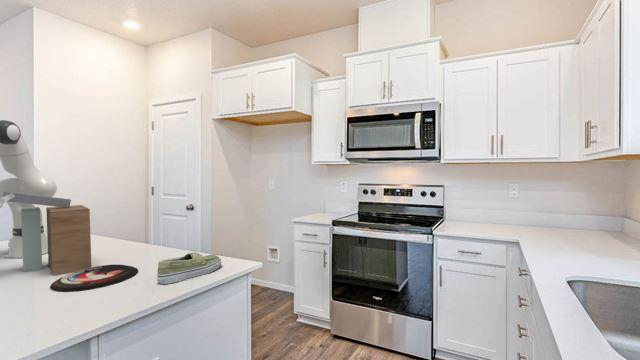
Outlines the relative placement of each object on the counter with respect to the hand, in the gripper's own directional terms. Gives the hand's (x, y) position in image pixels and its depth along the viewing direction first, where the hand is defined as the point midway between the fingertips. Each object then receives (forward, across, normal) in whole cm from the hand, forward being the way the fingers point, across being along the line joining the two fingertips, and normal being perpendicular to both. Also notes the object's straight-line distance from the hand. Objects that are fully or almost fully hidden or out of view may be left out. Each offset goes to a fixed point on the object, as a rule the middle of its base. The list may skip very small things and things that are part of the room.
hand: (13, 194), depth 137 cm
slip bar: (+4, -1, +8) cm, 9 cm away
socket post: (-12, +4, +31) cm, 34 cm away
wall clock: (+3, -31, +41) cm, 51 cm away
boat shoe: (+28, -52, +55) cm, 81 cm away
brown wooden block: (-2, -4, +37) cm, 37 cm away
